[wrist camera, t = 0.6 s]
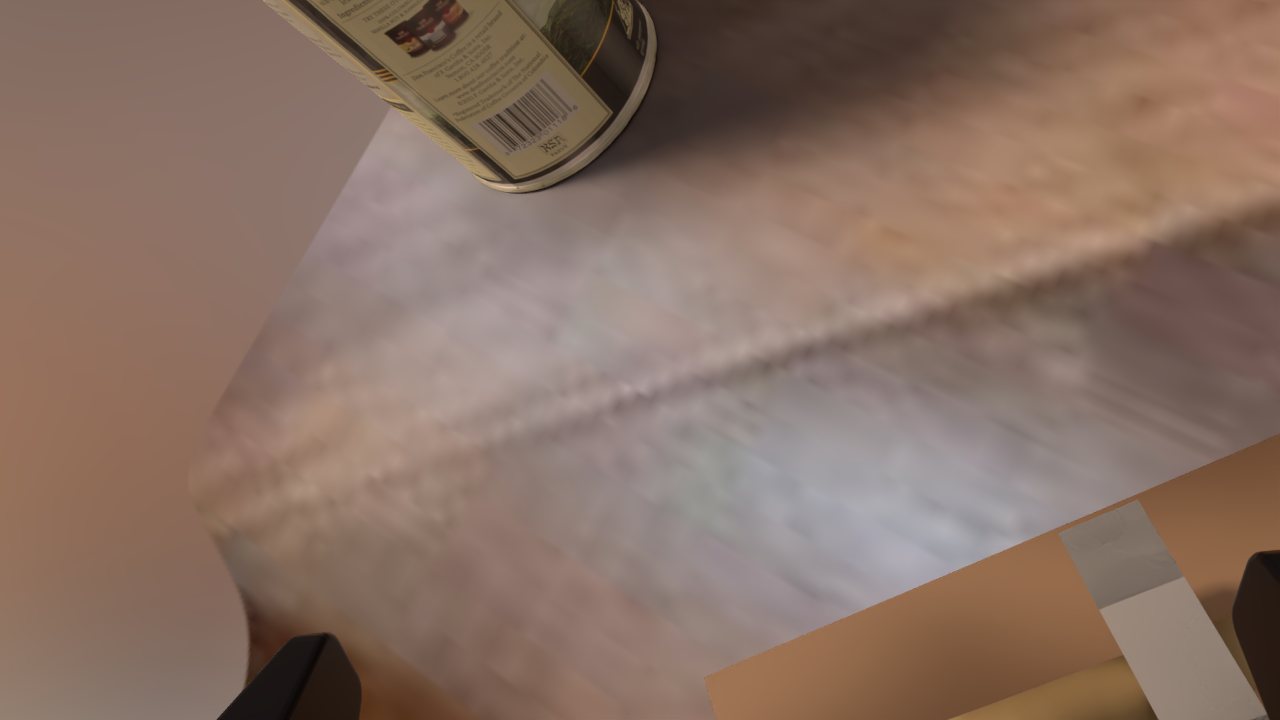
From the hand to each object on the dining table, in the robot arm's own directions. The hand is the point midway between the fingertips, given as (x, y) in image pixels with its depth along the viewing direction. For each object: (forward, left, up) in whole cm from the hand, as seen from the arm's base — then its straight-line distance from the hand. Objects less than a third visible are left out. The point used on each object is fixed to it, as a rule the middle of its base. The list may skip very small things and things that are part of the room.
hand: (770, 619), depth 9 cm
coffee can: (+29, +7, -16) cm, 35 cm away
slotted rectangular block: (0, -3, -15) cm, 15 cm away
